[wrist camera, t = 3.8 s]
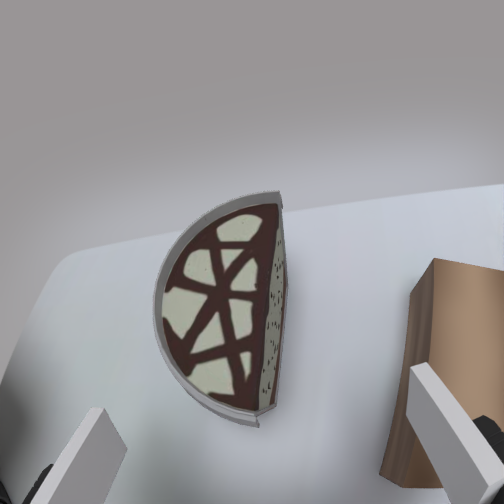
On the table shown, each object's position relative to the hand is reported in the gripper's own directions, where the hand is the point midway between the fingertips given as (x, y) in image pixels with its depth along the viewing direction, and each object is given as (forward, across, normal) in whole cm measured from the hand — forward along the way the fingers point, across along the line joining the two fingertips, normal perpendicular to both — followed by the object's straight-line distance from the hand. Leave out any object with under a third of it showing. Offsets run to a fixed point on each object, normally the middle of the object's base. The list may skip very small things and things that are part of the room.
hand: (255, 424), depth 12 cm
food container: (+12, -2, -2) cm, 12 cm away
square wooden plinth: (+6, +16, -8) cm, 19 cm away
